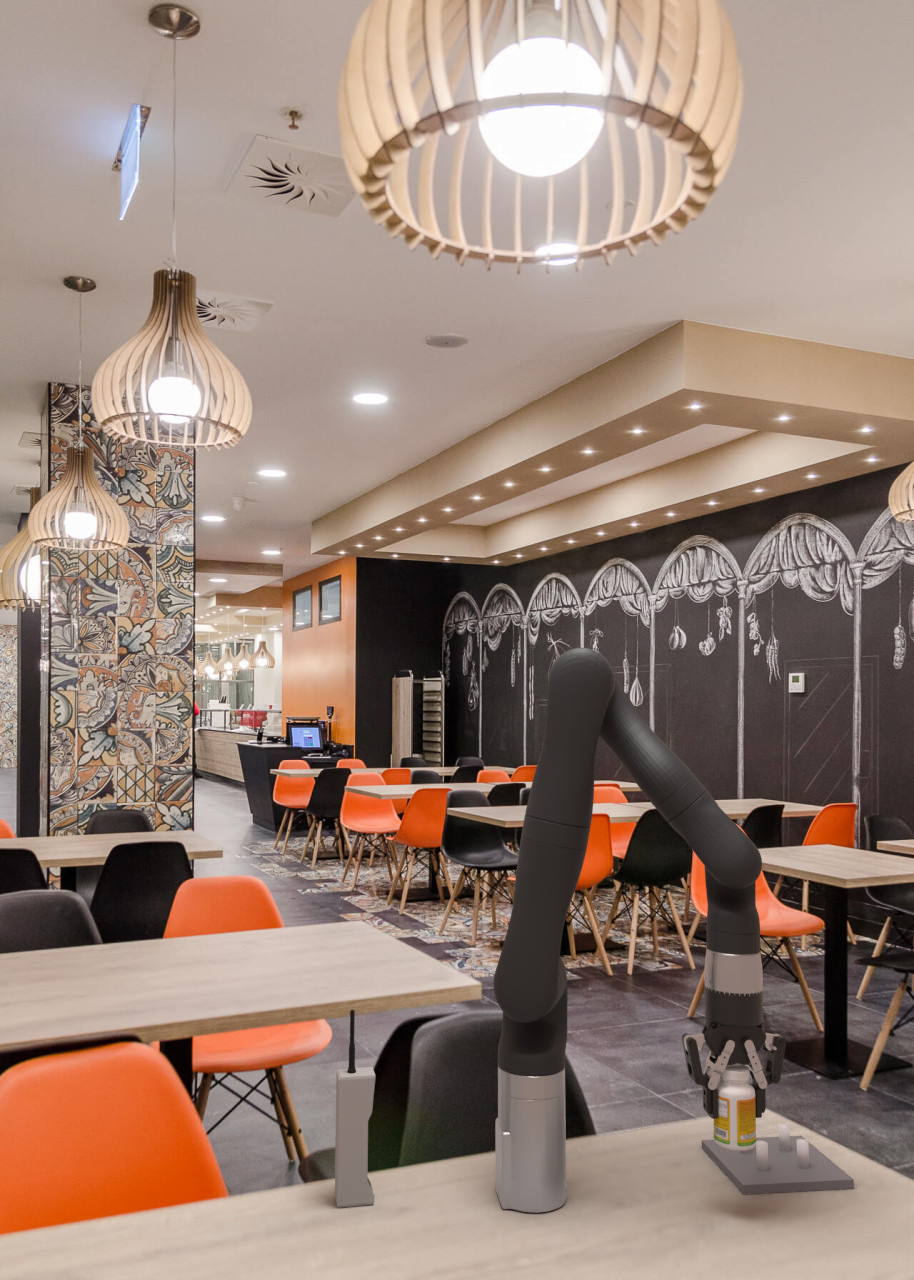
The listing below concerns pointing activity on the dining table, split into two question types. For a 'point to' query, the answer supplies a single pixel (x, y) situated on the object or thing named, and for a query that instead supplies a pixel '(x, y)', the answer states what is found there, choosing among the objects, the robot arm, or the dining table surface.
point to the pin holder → (778, 1165)
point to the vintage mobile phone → (353, 1130)
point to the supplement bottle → (735, 1110)
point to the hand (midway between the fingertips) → (734, 1115)
